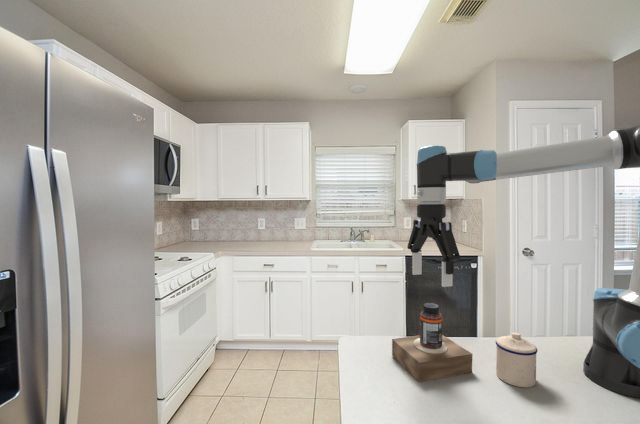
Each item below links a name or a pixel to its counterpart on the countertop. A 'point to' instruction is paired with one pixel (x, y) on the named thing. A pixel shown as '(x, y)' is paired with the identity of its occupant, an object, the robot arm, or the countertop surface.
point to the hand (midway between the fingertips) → (430, 279)
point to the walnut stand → (431, 358)
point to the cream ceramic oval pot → (516, 360)
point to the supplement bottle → (431, 326)
